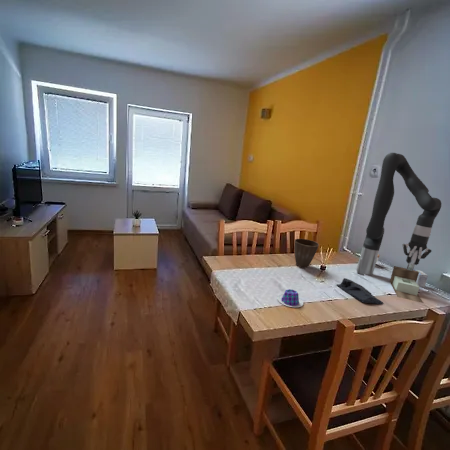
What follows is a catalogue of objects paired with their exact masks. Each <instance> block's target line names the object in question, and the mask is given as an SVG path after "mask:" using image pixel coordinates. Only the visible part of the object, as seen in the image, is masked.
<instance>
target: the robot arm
mask: <svg viewBox="0 0 450 450" xmlns="http://www.w3.org/2000/svg"><path fill="white" fill-rule="evenodd" d="M395 173H397V174H399V175H400V176H401V177H402V179H403V182H404V184H405V186H406V187H407V190H409V192H410V193H411V194H412V195H413V197H414V198H415V201H416V202H417V204H418V207H420V208H421V209H422V210H423V212H422V213H421V214H419V215H418V218H417V221H416V222H415V223H416V224H415V226H414V228H413V231H412V233H411V237H410V241H409V242H408V243H403V244H402V248H403V253H404V255H405V256H406V260H405V261H406V263H407V264H408V263H410V260H411V256H412V254H413V253H414V251H415V250H419V253H418V257H417V260H416V263H415V266H417V265H419V264H420V261H421V259H423V260H425V259H426V258H427V257H428V256H429V255H430V253H432V252H433V251H432V249H430V248H428V242H429V239H430V236H431V233H432V229H433V225H434V222H435V219H436V217H437V216H438V215H439V212H440V211H441V208H442V201H441V200H440V199H439V198H438V197H433V196H432V195H431V194H430V193H429V191H430V190H429V188H428V187H427V186H426V185H425V183H423V181H422V179H420V178H419V177H418V175H417V174H416V173H415V171H414V170H413V168H412V167H411V166H410V164H409V162H408V160H407V158H406V157H405V156H404V155H403V154H401V153H396V152H389V153H388V154H386V155H385V156H384V158H383V160H382V165H381V172H380V177H379V180H378V181H379V182H378V186H377V190H376V193H375V197H374V200H373V201H374V202H373V206H372V211H371V216H370V219H369V223H368V224H367V227H366V229H365V231H366V235H365V238H364V242H363V243H362V244H363V245H362V249H361V252H360V256H359V258H358V263H357V266H356V273H357V274H359V275H362V276H365V275H366V276H373V275H374V271H375V267H376V264H377V263H376V260H377V256H378V254H379V251H380V249H381V248H380V247H381V246H382V242H383V238H384V235H385V227H384V226H385V221H386V218H387V215H388V213H389V211H390V208H391V205H392V202H393V200H394V196H395V185H394V178H395V177H394V176H395ZM408 248H409V251H408ZM422 252H423V254H422Z"/></svg>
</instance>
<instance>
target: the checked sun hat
mask: <svg viewBox="0 0 450 450" xmlns="http://www.w3.org/2000/svg"><path fill="white" fill-rule="evenodd" d="M277 301H278V302H279V303H280V304H282V305H284V306H286V307H290V308H300V307H303V306H304V301H303V300H302V299H301V298H300V297H299V293H298V292H297V290H294V289H289V288H288V289H285V291H284V292H283V294H279V295H278V296H277Z"/></svg>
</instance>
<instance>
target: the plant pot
mask: <svg viewBox="0 0 450 450" xmlns="http://www.w3.org/2000/svg"><path fill="white" fill-rule="evenodd" d="M293 246H294V247H293V248H294V261H295V265H296V266H298V267H299V268H304V269H306V268H309V266H310V264H311V262H312V261H313V260H314V257H315V255H316V253H317V251H318V249H319V246H320V244H319V242H317V241H314V240H310V239H306V238H296V239H294V245H293Z"/></svg>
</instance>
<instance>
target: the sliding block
mask: <svg viewBox="0 0 450 450" xmlns="http://www.w3.org/2000/svg"><path fill="white" fill-rule="evenodd" d="M393 286H394V287H395V289H396V291H400V292H404V293H409V294H413V295H417V294H418V295H419V290H420V287H419V286H418V284H417V283H416V282H415V280H411V279H406V278H402V277H397V276H395V277H394V281H393Z"/></svg>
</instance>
